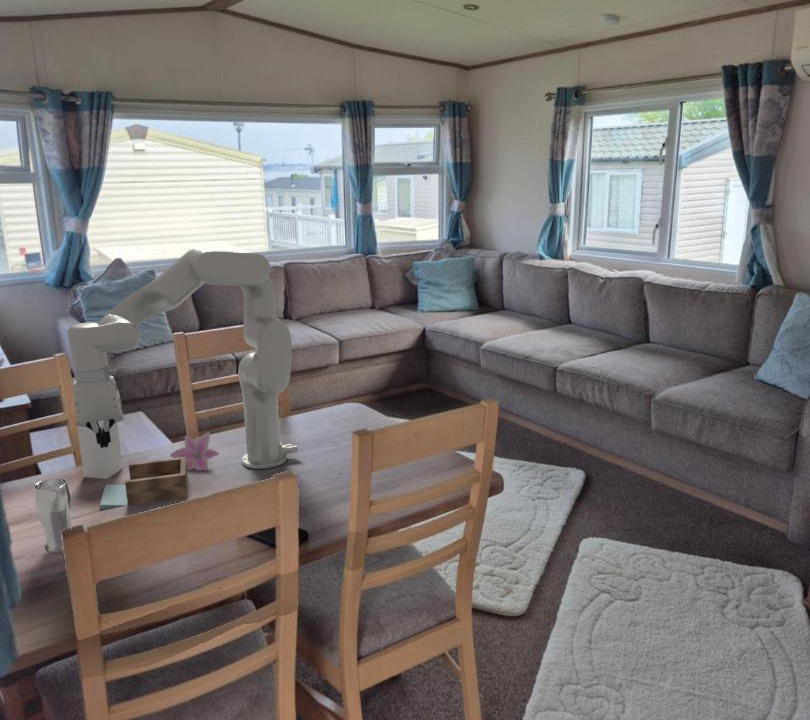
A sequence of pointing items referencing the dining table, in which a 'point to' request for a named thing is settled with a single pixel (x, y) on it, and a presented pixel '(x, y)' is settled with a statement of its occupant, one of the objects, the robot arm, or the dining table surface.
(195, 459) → the lily
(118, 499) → the tailgate
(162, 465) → the box
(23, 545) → the dining table surface
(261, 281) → the robot arm
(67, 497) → the beer glass
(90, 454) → the milk carton
